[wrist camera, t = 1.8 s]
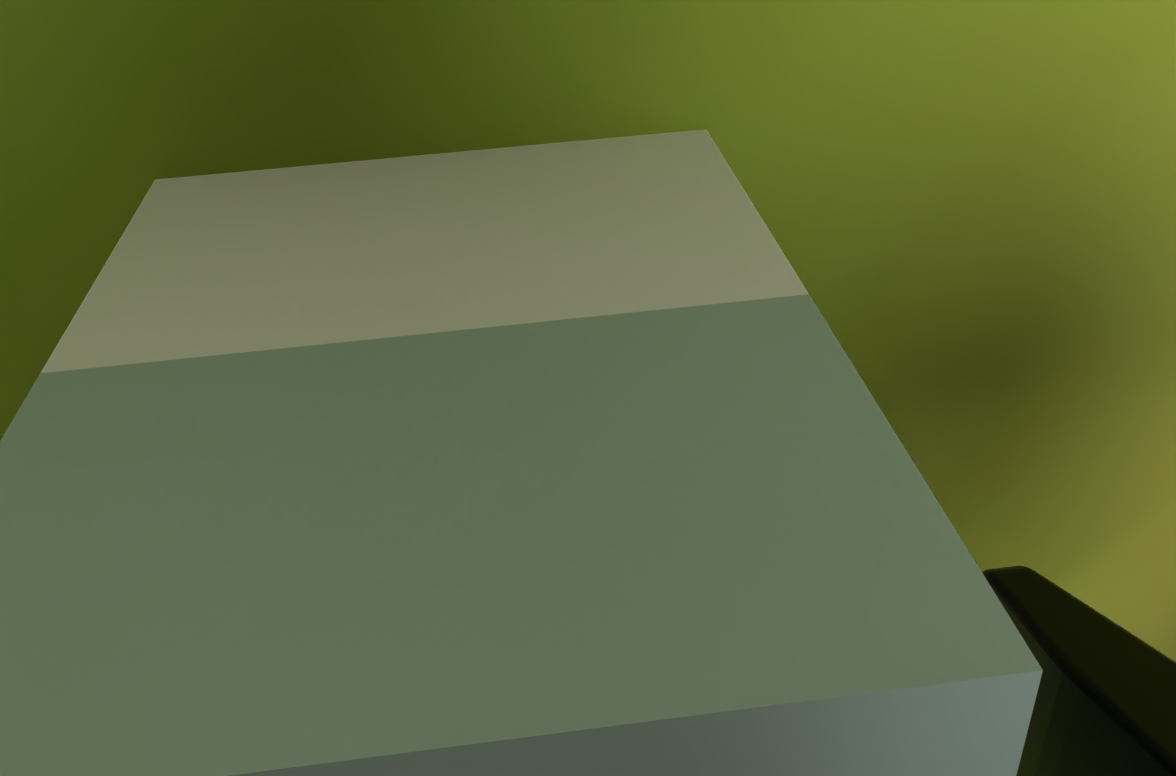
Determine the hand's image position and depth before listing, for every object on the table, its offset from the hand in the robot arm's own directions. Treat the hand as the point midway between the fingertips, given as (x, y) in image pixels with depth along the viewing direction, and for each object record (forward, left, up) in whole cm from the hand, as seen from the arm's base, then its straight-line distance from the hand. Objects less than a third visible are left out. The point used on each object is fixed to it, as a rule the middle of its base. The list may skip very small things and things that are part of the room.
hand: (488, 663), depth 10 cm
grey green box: (0, 0, -5) cm, 5 cm away
